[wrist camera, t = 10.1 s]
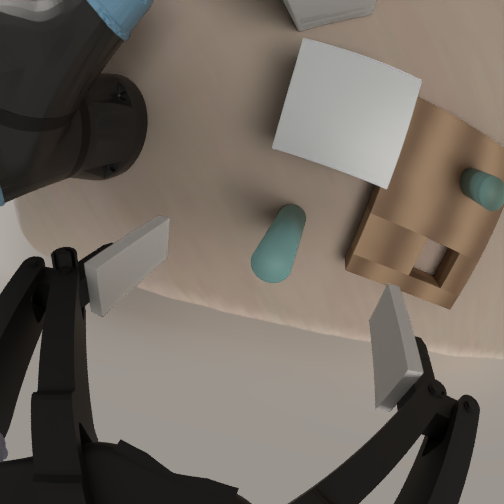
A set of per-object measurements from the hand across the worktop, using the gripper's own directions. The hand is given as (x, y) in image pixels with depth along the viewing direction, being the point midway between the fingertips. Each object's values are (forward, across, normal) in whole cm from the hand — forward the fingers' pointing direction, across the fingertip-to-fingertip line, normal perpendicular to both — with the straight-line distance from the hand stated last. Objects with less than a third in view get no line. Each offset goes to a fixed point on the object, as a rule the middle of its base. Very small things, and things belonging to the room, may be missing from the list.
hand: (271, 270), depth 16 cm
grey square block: (+18, +2, +10) cm, 20 cm away
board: (+18, +15, +4) cm, 23 cm away
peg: (+18, 0, -3) cm, 18 cm away
